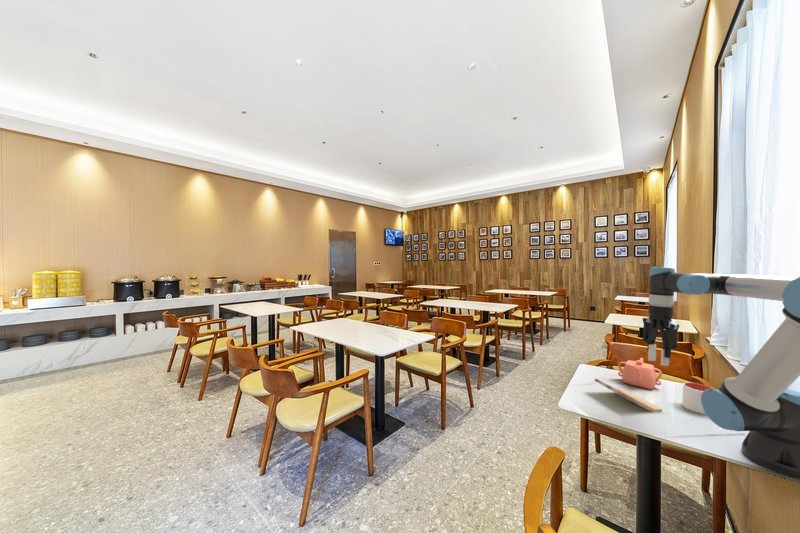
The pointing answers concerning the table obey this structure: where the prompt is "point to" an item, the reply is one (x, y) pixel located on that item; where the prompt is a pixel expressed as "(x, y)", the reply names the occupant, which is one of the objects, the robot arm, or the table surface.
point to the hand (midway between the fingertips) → (658, 362)
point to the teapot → (639, 374)
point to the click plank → (624, 395)
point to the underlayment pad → (624, 403)
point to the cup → (693, 396)
